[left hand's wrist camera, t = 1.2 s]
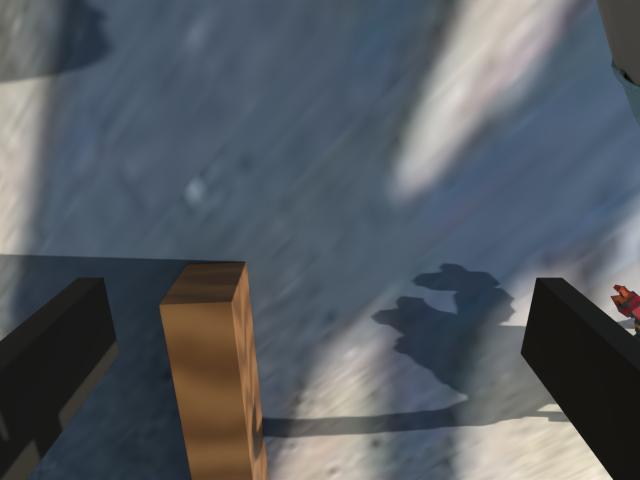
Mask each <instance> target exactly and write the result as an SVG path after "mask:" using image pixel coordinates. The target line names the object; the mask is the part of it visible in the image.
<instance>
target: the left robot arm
mask: <svg viewBox="0 0 640 480" xmlns="http://www.w3.org/2000/svg"><path fill="white" fill-rule="evenodd" d="M597 3H598V7H599V11H600V14H601V18H602V21H603V25H604V28H605V32H606V36H607V39H608V43H609V46H610V50H611V53H612V70H613V73H614V75H615V77H616V78H617V79H618V81H619V82H620V83H621V84H623V87H624V89H625V92H626V95H627V98H628V100H629V103H630V106H631V109H632V111H633V114H634V116H635V118H636V120H637V122H638V123H639V125H640V0H597ZM118 355H119V350H118V345H117V340H116V335H115V331H114V326H113V321H112V316H111V312H110V307H109V302H108V297H107V292H106V288H105V283H104V278H77V279H76V280H75V281H73V282H72V283H71V284H70V285H69V286H67V287H66V288H65V289H64V290H62V291H61V292H60V293H59V294H58V295H56V296H55V297H54V298H53V299H51V300H50V301H49V302H48V303H47V304H45V305H44V306H43V307H42V308H40V309H39V310H38V311H37V312H36V313H34V314H33V315H32V316H31V317H29V318H28V319H27V320H26V321H25V322H23V323H22V324H21V325H20V326H18V327H17V328H16V329H15V330H14V331H12V332H11V333H10V334H9V335H7V336H6V337H5V338H4V339H2V340H1V341H0V480H27V479H28V477H29V476H30V475H31V473H32V472H33V471H34V469H35V468H36V466H37V465H38V464H39V462H40V461H41V460H42V458H43V457H44V456H45V454H46V453H47V451H48V450H49V449H50V447H51V446H52V445H53V443H54V442H55V441H56V439H57V438H58V436H59V435H60V434H61V432H62V431H63V430H64V428H65V427H66V426H67V424H68V423H69V421H70V420H71V419H72V417H73V416H74V415H75V413H76V412H77V411H78V409H79V408H80V406H81V405H82V404H83V402H84V401H85V400H86V398H87V397H88V396H89V394H90V393H91V391H92V390H93V389H94V387H95V386H96V385H97V383H98V382H99V381H100V379H101V378H102V376H103V375H104V374H105V372H106V371H107V370H108V368H109V367H110V366H111V364H112V363H113V361H114V360H115V359H116V357H117V356H118ZM521 355H522V356H523V357H524V359H525V360H526V361H527V363H528V364H529V366H530V367H531V368H532V370H533V371H534V372H535V374H536V375H537V376H538V378H539V379H540V381H541V382H542V383H543V385H544V386H545V387H546V389H547V390H548V391H549V393H550V394H551V396H552V397H553V398H554V400H555V401H556V402H557V404H558V405H559V406H560V408H561V409H562V411H563V412H564V413H565V415H566V416H567V417H568V419H569V420H570V421H571V423H572V424H573V426H574V427H575V428H576V430H577V431H578V432H579V434H580V435H581V436H582V438H583V439H584V441H585V442H586V443H587V445H588V446H589V447H590V449H591V450H592V451H593V453H594V454H595V456H596V457H597V458H598V460H599V461H600V462H601V464H602V465H603V466H604V468H605V469H606V471H607V472H608V473H609V475H610V476H611V477H612V479H613V480H640V341H639V340H638V339H636V338H635V337H634V336H633V335H631V334H630V333H629V332H628V331H626V330H625V329H624V328H623V327H622V326H620V325H619V324H618V323H617V322H615V321H614V320H613V319H612V318H611V317H609V316H608V315H607V314H606V313H604V312H603V311H602V310H601V309H600V308H598V307H597V306H596V305H595V304H593V303H592V302H591V301H590V300H589V299H587V298H586V297H585V296H584V295H582V294H581V293H580V292H579V291H578V290H576V289H575V288H574V287H573V286H571V285H570V284H569V283H568V282H567V281H565V280H564V279H563V278H536V283H535V288H534V292H533V297H532V302H531V307H530V312H529V316H528V321H527V326H526V331H525V335H524V340H523V345H522V350H521Z"/></svg>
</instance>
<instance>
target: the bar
mask: <svg viewBox="0 0 640 480" xmlns="http://www.w3.org/2000/svg"><path fill="white" fill-rule="evenodd" d="M159 308H160V313H161V319H162V324H163V329H164V335H165V340H166V345H167V351H168V356H169V361H170V366H171V372H172V377H173V382H174V388H175V393H176V398H177V404H178V409H179V414H180V420H181V425H182V430H183V436H184V441H185V446H186V451H187V457H188V462H189V467H190V473H191V478H192V480H268V472H267V462H266V452H265V442H264V432H263V423H262V413H261V403H260V393H259V383H258V373H257V364H256V354H255V344H254V334H253V324H252V314H251V304H250V295H249V285H248V275H247V265H246V262H232V263H208V264H187V265H186V266H185V268H184V269H183V271H182V272H181V274H180V275H179V277H178V278H177V279H176V281H175V282H174V284H173V285H172V287H171V288H170V290H169V291H168V293H167V294H166V296H165V297H164V298H163V300H162V301H161V303H160V304H159Z"/></svg>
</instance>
